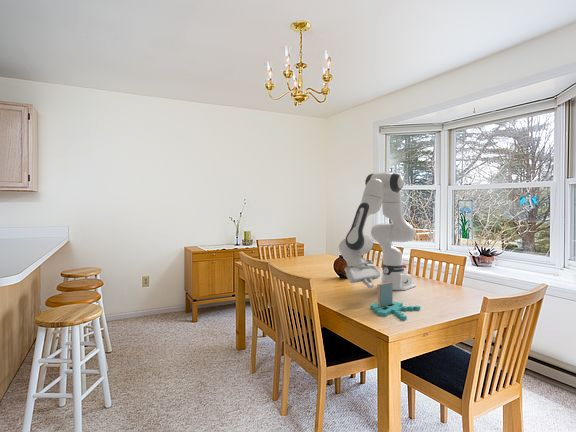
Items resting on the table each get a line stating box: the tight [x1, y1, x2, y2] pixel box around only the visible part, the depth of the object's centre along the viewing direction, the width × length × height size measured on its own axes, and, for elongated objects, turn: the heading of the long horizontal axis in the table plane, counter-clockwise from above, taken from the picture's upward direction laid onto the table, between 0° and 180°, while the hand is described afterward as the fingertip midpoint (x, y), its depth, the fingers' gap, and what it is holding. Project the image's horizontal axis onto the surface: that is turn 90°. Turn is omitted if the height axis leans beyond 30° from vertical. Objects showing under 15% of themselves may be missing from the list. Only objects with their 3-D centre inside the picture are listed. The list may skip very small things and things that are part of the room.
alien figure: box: [369, 301, 421, 322], centre depth 173 cm, size 20×2×20 cm
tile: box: [377, 282, 394, 307], centre depth 176 cm, size 9×2×11 cm, turn 124°
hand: (371, 286), depth 184 cm, fingers closed
